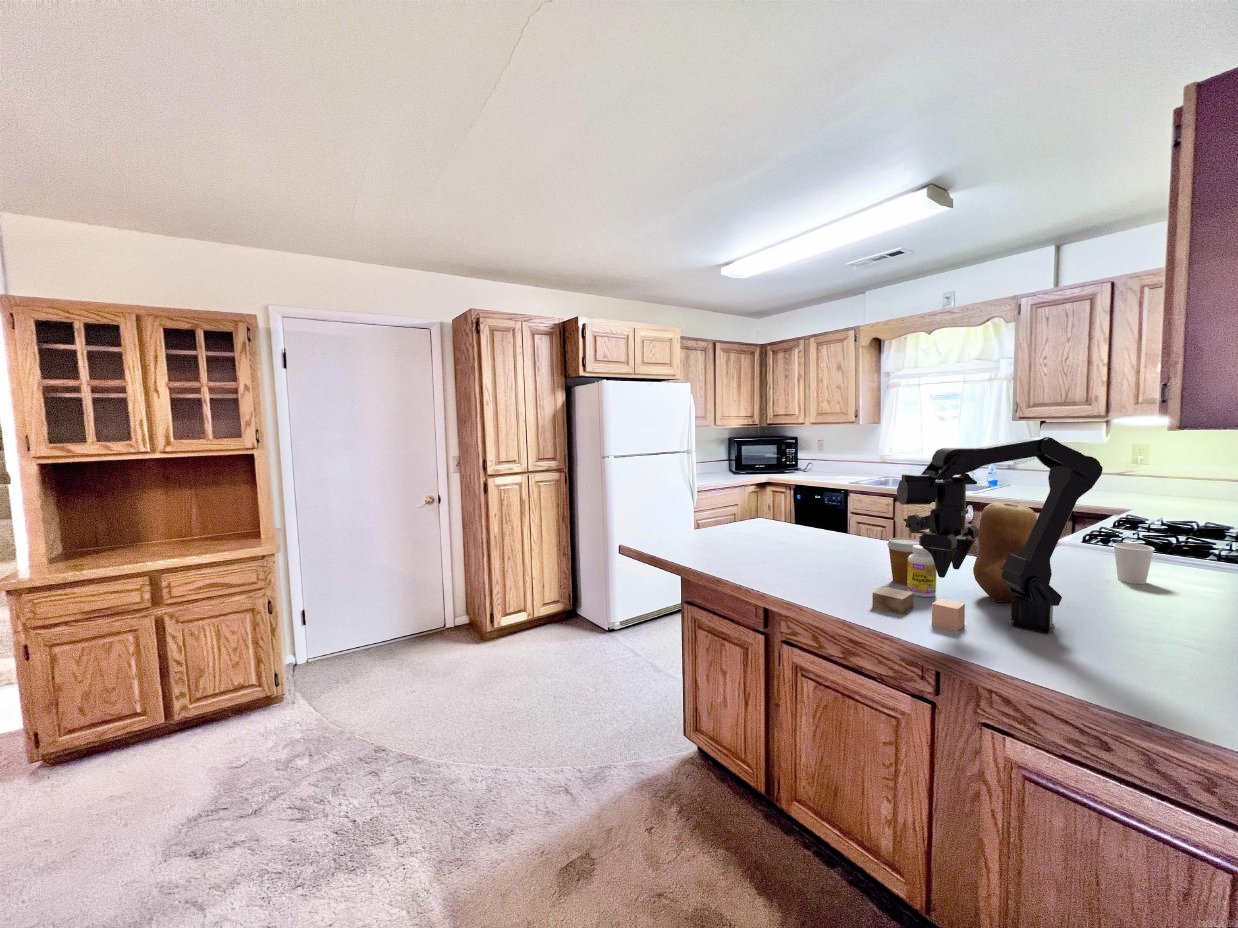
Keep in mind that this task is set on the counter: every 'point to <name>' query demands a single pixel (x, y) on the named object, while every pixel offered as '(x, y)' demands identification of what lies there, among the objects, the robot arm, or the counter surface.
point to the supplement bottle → (921, 573)
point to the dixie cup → (1132, 562)
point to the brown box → (893, 600)
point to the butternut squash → (1000, 545)
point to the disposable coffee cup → (900, 557)
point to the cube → (948, 614)
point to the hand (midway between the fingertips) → (948, 573)
